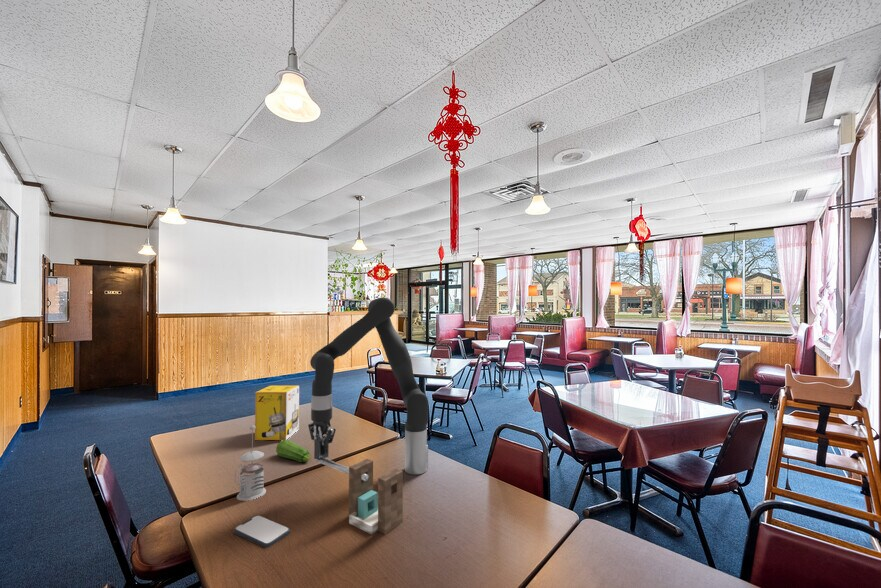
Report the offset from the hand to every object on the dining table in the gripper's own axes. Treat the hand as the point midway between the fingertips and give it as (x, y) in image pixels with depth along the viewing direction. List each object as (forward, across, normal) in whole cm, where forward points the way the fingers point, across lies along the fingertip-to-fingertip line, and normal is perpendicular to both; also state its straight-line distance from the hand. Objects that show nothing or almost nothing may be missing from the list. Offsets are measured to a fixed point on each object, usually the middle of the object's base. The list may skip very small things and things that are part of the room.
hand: (321, 453), depth 135 cm
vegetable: (+15, +36, -12) cm, 41 cm away
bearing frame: (+15, -28, 0) cm, 31 cm away
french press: (+15, +20, +16) cm, 30 cm away
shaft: (+4, -11, 0) cm, 12 cm away
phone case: (+15, -5, +25) cm, 30 cm away
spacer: (+14, -25, 0) cm, 29 cm away
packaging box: (+15, +70, -24) cm, 76 cm away
